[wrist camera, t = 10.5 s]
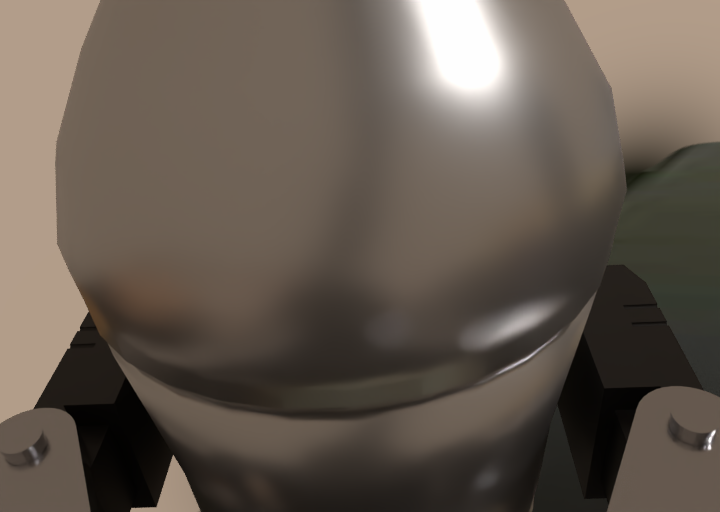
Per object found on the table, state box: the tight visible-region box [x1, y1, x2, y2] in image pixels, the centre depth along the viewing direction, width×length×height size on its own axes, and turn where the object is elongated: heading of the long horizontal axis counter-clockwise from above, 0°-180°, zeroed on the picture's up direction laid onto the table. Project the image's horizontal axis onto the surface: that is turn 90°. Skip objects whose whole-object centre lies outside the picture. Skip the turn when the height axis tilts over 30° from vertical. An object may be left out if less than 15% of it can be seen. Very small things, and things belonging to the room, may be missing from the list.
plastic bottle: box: [55, 0, 627, 512], centre depth 11 cm, size 6×7×20 cm
